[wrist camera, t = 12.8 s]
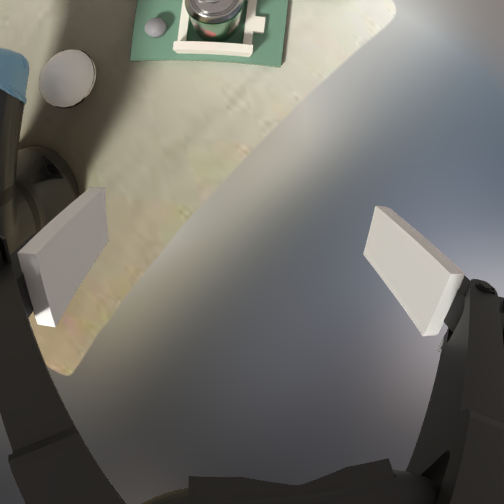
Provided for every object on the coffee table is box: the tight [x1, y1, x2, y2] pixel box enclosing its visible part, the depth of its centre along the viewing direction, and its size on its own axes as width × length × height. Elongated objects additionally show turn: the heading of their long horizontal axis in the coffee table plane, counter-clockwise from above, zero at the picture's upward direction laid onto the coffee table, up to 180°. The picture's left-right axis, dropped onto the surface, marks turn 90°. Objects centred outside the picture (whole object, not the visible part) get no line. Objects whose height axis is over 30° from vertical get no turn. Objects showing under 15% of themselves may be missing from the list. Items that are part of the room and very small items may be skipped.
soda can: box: [185, 0, 244, 42], centre depth 25 cm, size 5×5×12 cm
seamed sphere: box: [39, 50, 107, 108], centre depth 29 cm, size 10×7×7 cm
